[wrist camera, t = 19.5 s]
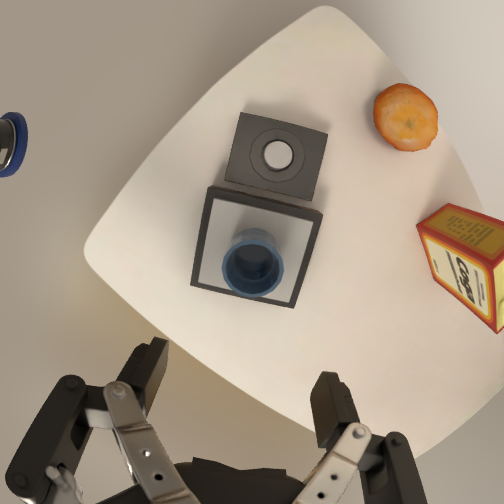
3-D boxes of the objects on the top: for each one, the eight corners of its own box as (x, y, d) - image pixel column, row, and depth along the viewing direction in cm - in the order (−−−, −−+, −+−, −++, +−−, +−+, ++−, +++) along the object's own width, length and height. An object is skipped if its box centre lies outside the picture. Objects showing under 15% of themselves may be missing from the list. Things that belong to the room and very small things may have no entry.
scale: (194, 277, 35) (188, 287, 32) (211, 185, 32) (206, 187, 29) (292, 300, 36) (294, 311, 33) (319, 211, 32) (324, 215, 29)
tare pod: (225, 179, 31) (222, 181, 28) (241, 114, 29) (239, 109, 26) (309, 199, 32) (314, 203, 29) (325, 135, 29) (331, 132, 26)
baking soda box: (416, 225, 32) (495, 267, 17) (448, 203, 31) (530, 232, 16) (433, 279, 34) (498, 336, 19) (463, 257, 33) (531, 302, 18)
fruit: (438, 111, 26) (458, 128, 20) (401, 147, 31) (411, 171, 26) (395, 67, 24) (406, 72, 19) (358, 107, 30) (359, 122, 25)
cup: (223, 271, 32) (216, 290, 27) (233, 222, 30) (228, 233, 25) (272, 282, 32) (274, 302, 27) (286, 234, 30) (290, 248, 25)
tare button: (261, 164, 28) (261, 164, 27) (267, 139, 27) (267, 138, 26) (287, 171, 28) (288, 171, 27) (293, 146, 27) (295, 145, 26)
